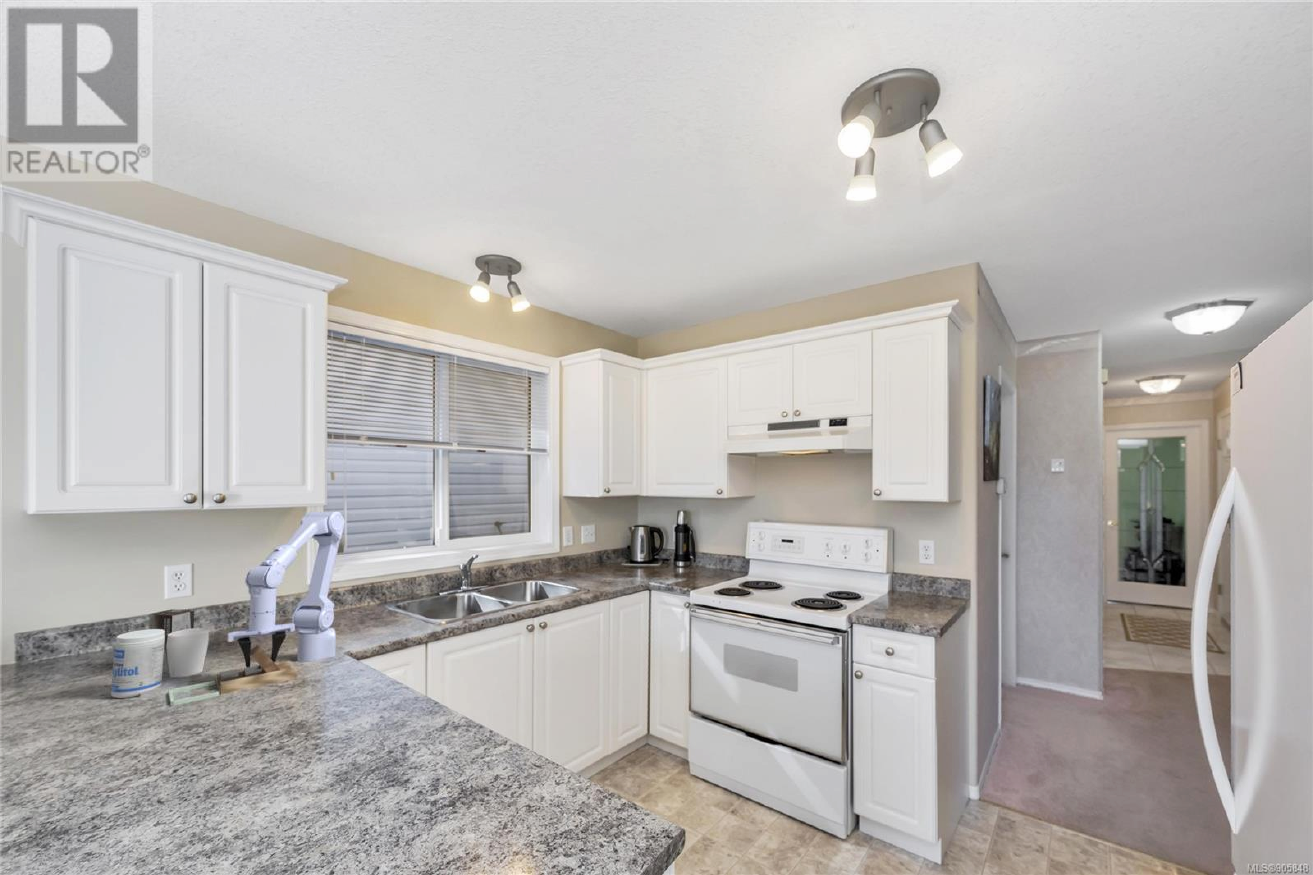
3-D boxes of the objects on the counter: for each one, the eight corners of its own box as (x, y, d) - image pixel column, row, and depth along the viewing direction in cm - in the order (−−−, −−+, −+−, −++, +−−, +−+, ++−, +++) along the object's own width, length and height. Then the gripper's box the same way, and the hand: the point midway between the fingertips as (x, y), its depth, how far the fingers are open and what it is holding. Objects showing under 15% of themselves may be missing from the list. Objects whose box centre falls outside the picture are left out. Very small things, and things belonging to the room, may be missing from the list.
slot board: (288, 672, 156) (289, 660, 157) (296, 682, 149) (296, 668, 149) (216, 687, 145) (216, 674, 146) (220, 698, 138) (221, 684, 138)
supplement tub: (101, 701, 137) (105, 640, 138) (124, 687, 146) (128, 630, 147) (149, 696, 140) (152, 636, 141) (169, 683, 149) (172, 627, 150)
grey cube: (259, 678, 149) (259, 665, 149) (261, 682, 147) (261, 668, 147) (243, 681, 147) (243, 668, 147) (244, 685, 144) (245, 671, 144)
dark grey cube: (236, 683, 146) (237, 669, 146) (238, 686, 143) (238, 672, 144) (219, 686, 144) (220, 672, 144) (220, 690, 141) (221, 675, 141)
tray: (213, 687, 146) (214, 680, 146) (218, 699, 138) (219, 692, 138) (168, 697, 139) (168, 689, 140) (170, 710, 131) (170, 702, 132)
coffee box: (193, 666, 163) (196, 610, 164) (169, 673, 157) (172, 615, 158) (169, 664, 165) (172, 608, 166) (145, 671, 159) (148, 613, 160)
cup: (169, 684, 148) (171, 638, 149) (160, 678, 153) (162, 633, 154) (211, 675, 155) (213, 630, 156) (201, 668, 161) (203, 626, 162)
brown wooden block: (279, 668, 153) (257, 644, 150) (283, 672, 149) (261, 648, 146) (270, 675, 151) (248, 651, 148) (273, 680, 148) (251, 655, 145)
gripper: (230, 618, 141) (228, 674, 140) (298, 609, 151) (296, 661, 150) (227, 614, 146) (224, 667, 145) (292, 605, 156) (290, 655, 155)
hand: (260, 664), depth 148 cm, fingers closed on brown wooden block, 5 cm apart
